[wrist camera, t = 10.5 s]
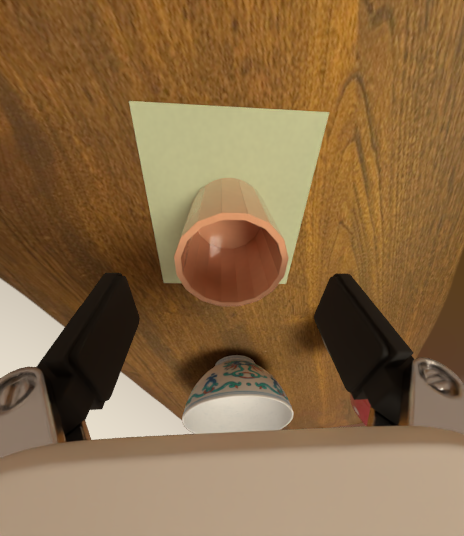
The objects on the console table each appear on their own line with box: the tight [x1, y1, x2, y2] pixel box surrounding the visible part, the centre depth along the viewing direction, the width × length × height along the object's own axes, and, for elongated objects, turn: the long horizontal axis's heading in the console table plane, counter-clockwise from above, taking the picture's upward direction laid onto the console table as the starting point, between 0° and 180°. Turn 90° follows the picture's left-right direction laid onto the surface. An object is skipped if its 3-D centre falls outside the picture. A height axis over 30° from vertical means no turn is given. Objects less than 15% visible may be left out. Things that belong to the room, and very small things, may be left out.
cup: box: [174, 178, 289, 306], centre depth 16 cm, size 7×7×8 cm
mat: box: [129, 101, 329, 284], centre depth 19 cm, size 16×14×1 cm
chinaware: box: [182, 355, 293, 434], centre depth 31 cm, size 15×15×8 cm
